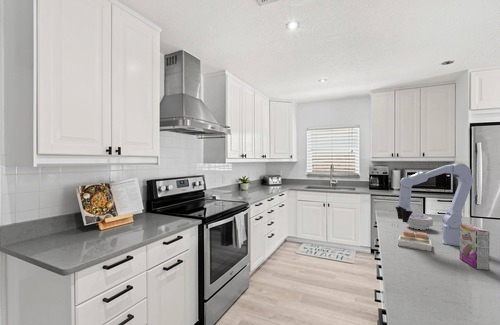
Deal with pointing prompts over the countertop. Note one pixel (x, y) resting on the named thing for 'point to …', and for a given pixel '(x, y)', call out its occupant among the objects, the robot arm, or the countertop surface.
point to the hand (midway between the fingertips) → (402, 220)
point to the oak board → (415, 238)
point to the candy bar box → (474, 246)
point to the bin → (414, 244)
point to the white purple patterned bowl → (420, 222)
